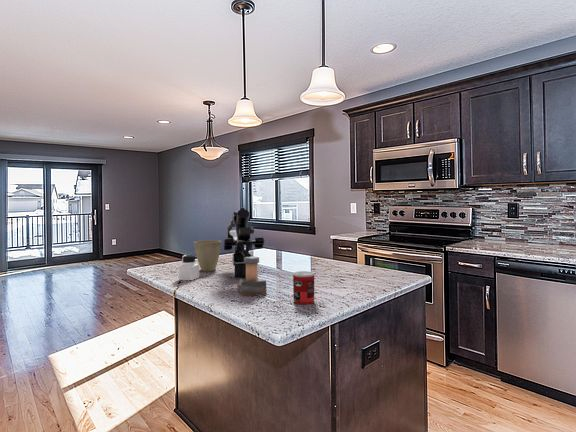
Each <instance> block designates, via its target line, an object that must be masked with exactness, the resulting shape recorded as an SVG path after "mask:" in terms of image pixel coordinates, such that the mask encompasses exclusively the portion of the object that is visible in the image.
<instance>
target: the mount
mask: <svg viewBox="0 0 576 432" xmlns="http://www.w3.org/2000/svg"><path fill="white" fill-rule="evenodd" d="M238 283H239V284H237V290H238V291H239V292H240V294H241V296H242V297H249V296H259V295H267V279H259V278H258V280H255V281H246V280H244V281H243V279H239V280H238Z"/></svg>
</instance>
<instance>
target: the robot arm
mask: <svg viewBox="0 0 576 432" xmlns="http://www.w3.org/2000/svg"><path fill="white" fill-rule="evenodd" d="M250 219H251V215H250V212H249V210H247V209H245V207H241V208H240V209H239V210H238V211H233V213H232V214H231V220H230V224H229V226H228V227H227V228H226V229H227V230H226V237H227V238H224V240H223V250H224V251H232V249H233V247H234V250H233V253H232V265H233V266H234V276H233V278H246V264H245V263H244V258H245V257H252V254H251V253H250V251H252V250H253V245H254V248H256V249H262V248H263V249H264V244H265V238H264V237H263V236H258V237H257V236H256V237H254V239H252V240H251V235H253V234H254V233H255V228H254V226H248V224H249V220H250ZM233 228H235V230H234V229H233ZM232 229H233V230H232Z"/></svg>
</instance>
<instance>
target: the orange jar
mask: <svg viewBox="0 0 576 432" xmlns="http://www.w3.org/2000/svg"><path fill="white" fill-rule="evenodd" d="M244 263H245V264H246V277H245V281H255V280H258V279H259V269H258V268H259V267H258V266H259V263H260V257H259V256H251V257H245V258H244Z"/></svg>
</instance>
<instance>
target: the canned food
mask: <svg viewBox="0 0 576 432" xmlns="http://www.w3.org/2000/svg"><path fill="white" fill-rule="evenodd" d="M292 283H293V284H292V285H293V286H292V287H293V288H292V290H293V292H292V294H293V302H294V303H295V304H297V305H311V304H314V302H315V273H314V272H313V271H309V270H308V271H306V270H303V271H302V270H301V271H300V270H299V271H296V272H293V274H292Z"/></svg>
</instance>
